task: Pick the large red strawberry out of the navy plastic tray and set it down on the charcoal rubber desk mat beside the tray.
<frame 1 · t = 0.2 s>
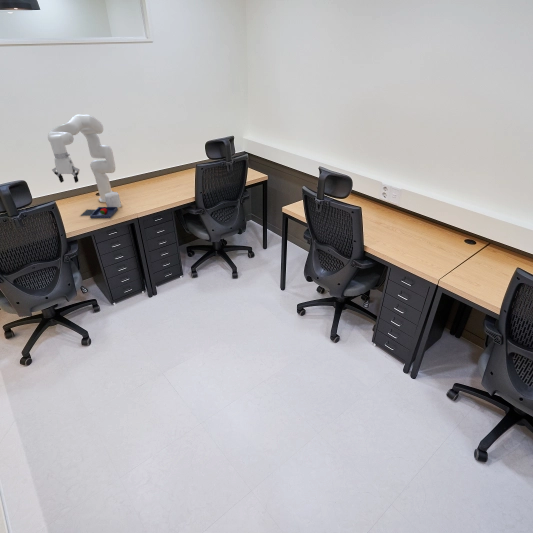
hand: (69, 181, 231), 31 cm above the table, tool pointing down, fingers open, 9 cm apart
tray: (104, 214, 262), on the table
mat: (88, 213, 264), on the table
strawberry: (104, 213, 262), resting on tray
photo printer: (114, 208, 272), on the table
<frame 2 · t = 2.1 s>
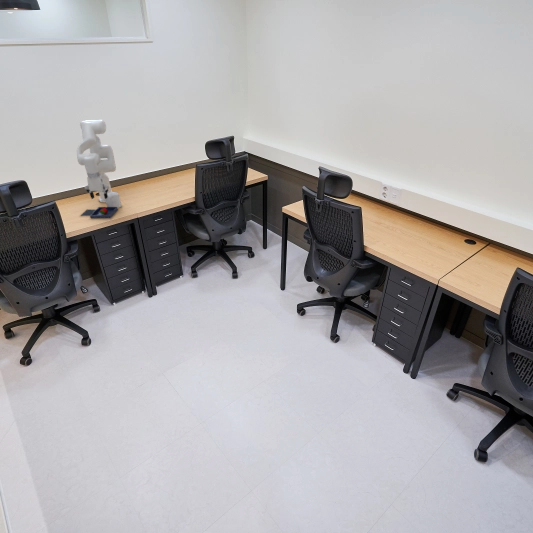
hand: (99, 198, 254), 13 cm above the table, tool pointing down, fingers open, 9 cm apart
nothing on the table moved.
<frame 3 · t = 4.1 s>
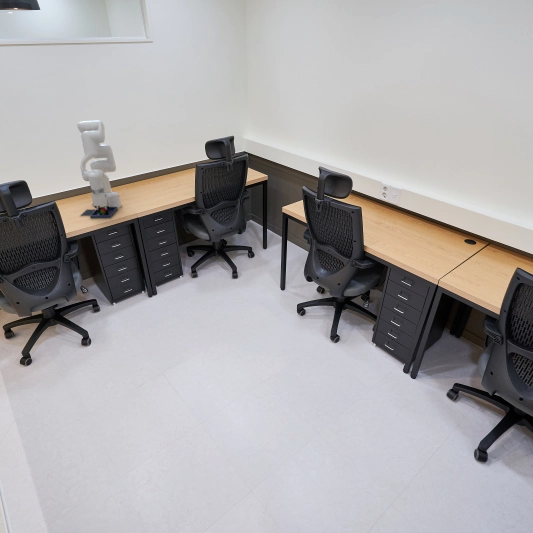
hand: (104, 213, 261), 1 cm above the table, tool pointing down, fingers closed on tray, 4 cm apart
nothing on the table moved.
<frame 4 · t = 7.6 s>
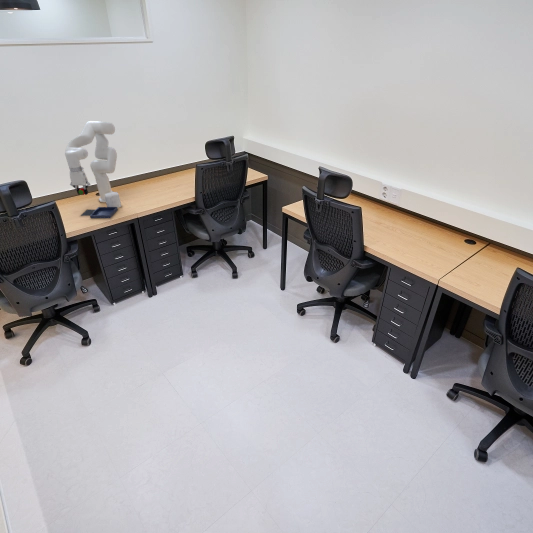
hand: (83, 193, 255), 15 cm above the table, tool pointing down, fingers closed on strawberry, 4 cm apart
strawberry: (83, 194, 255), point 15 cm above the table, touching gripper
everything else where it was.
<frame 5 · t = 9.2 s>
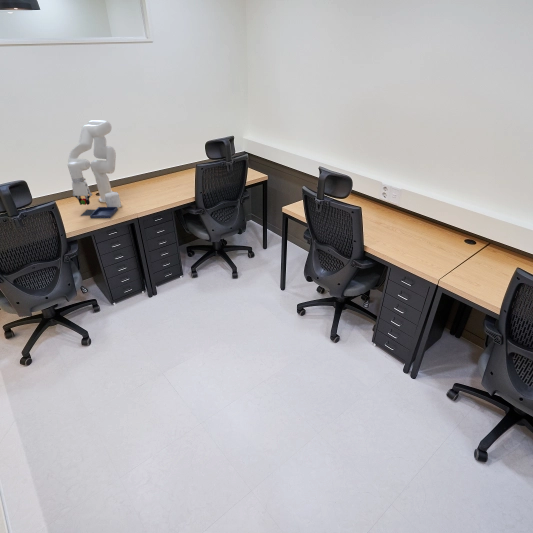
hand: (85, 203, 259), 8 cm above the table, tool pointing down, fingers closed on strawberry, 4 cm apart
strawberry: (85, 204, 259), point 7 cm above the table, touching gripper
everything else where it was.
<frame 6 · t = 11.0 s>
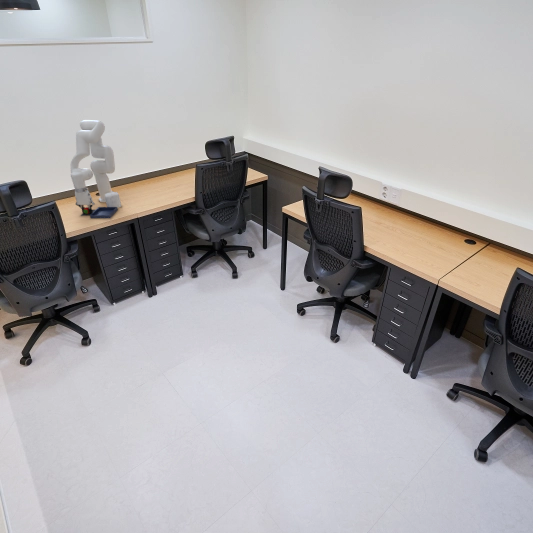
hand: (87, 212, 263), 1 cm above the table, tool pointing down, fingers closed on strawberry, 3 cm apart
strawberry: (88, 212, 263), resting on mat, touching gripper
everything else where it was.
when the fingers open (1 cm above the table, at t = 11.2 s): strawberry stays where it is, resting on mat.
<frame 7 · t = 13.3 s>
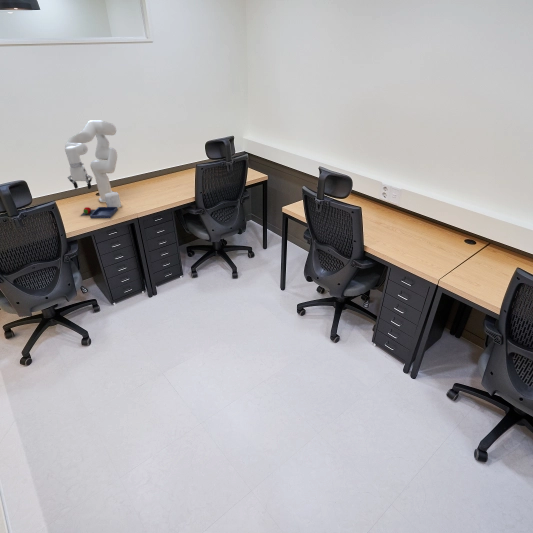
hand: (83, 188, 254), 19 cm above the table, tool pointing down, fingers open, 9 cm apart
strawberry: (88, 212, 263), resting on mat
everything else where it was.
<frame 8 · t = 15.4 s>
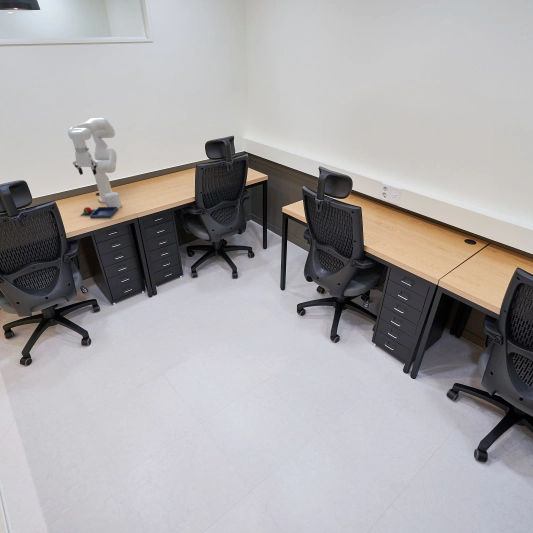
hand: (88, 174, 251), 28 cm above the table, tool pointing down, fingers open, 9 cm apart
nothing on the table moved.
at the end: strawberry 0.3 cm off-centre on the mat, point 0.4 cm above the mat's base; strawberry touching mat; the gripper is holding nothing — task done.
